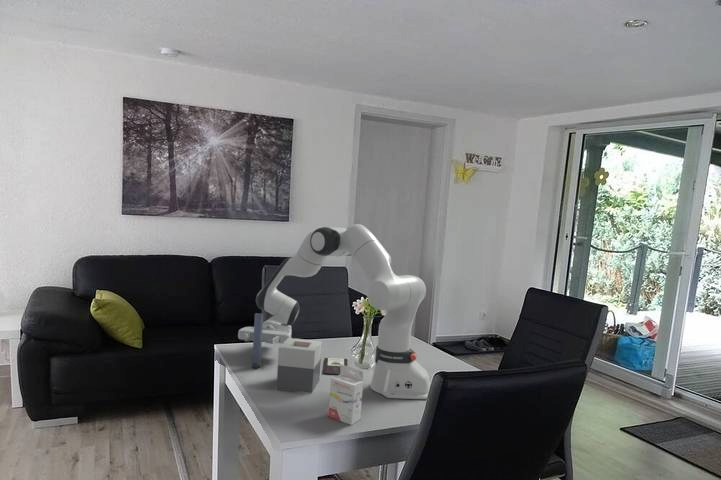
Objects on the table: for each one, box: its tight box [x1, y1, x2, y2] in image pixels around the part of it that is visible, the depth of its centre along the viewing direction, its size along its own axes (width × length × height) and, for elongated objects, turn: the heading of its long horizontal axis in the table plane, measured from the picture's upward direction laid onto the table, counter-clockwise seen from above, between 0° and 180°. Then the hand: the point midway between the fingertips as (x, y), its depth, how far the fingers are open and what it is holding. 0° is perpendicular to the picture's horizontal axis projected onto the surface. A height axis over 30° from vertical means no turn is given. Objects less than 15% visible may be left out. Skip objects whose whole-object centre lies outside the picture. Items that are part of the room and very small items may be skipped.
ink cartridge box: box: [327, 365, 364, 426], centre depth 141 cm, size 9×5×15 cm, turn 58°
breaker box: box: [275, 337, 323, 394], centre depth 165 cm, size 12×12×14 cm
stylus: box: [251, 312, 264, 370], centre depth 179 cm, size 3×3×20 cm
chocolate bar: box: [322, 357, 348, 376], centre depth 187 cm, size 9×1×18 cm
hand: (258, 340), depth 180 cm, fingers open, 8 cm apart
